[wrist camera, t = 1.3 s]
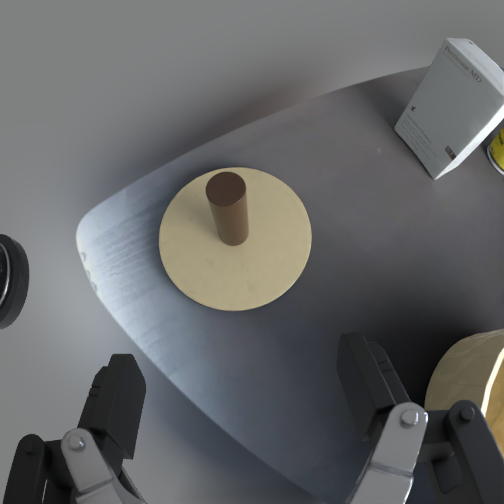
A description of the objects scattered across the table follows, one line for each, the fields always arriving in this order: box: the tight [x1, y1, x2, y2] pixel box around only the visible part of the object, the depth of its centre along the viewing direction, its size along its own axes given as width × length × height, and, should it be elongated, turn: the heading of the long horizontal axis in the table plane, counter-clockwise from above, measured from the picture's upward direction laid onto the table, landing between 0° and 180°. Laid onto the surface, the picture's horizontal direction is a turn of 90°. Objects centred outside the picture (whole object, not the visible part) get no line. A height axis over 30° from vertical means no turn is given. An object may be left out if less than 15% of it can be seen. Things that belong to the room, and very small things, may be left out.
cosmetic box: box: [394, 38, 504, 179], centre depth 23 cm, size 8×6×15 cm
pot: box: [424, 329, 504, 458], centre depth 18 cm, size 12×12×8 cm
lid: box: [159, 167, 312, 311], centre depth 23 cm, size 13×13×9 cm
